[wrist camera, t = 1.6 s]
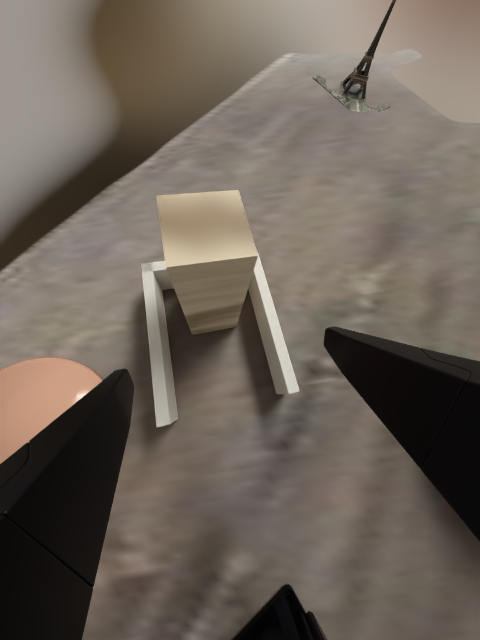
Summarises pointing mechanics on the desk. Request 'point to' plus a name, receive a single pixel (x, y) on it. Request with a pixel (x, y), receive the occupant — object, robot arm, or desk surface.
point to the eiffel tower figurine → (359, 78)
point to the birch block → (208, 256)
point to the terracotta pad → (38, 397)
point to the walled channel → (160, 349)
